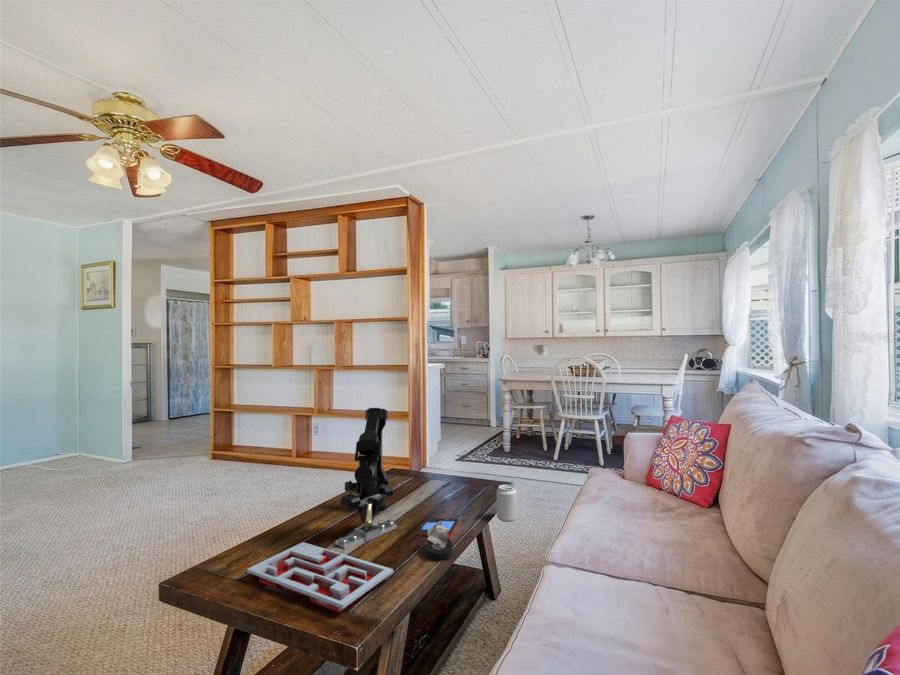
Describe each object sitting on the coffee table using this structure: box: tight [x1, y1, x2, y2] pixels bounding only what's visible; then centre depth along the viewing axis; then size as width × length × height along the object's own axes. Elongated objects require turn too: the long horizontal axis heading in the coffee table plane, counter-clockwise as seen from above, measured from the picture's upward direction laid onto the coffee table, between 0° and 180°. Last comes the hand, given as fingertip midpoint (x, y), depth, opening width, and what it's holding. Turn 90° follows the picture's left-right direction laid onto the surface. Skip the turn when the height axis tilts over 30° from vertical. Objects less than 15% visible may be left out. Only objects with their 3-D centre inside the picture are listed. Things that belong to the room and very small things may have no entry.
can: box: [496, 484, 518, 523], centre depth 165 cm, size 8×8×12 cm
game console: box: [414, 517, 459, 539], centre depth 155 cm, size 14×13×2 cm
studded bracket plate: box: [335, 519, 398, 550], centre depth 149 cm, size 23×6×2 cm, turn 139°
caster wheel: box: [425, 521, 454, 562], centre depth 137 cm, size 7×11×10 cm
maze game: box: [246, 541, 394, 614], centre depth 121 cm, size 35×20×3 cm, turn 61°
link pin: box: [362, 501, 373, 529], centre depth 150 cm, size 3×3×8 cm
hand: (367, 521), depth 150 cm, fingers closed on link pin, 3 cm apart
